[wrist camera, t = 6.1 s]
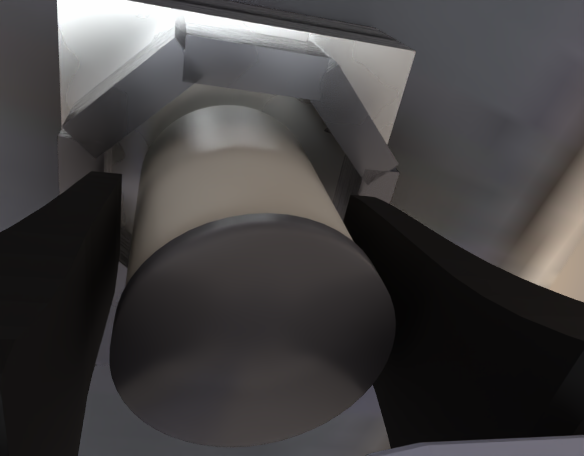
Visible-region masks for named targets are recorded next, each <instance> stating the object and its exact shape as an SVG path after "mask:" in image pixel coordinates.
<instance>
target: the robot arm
mask: <svg viewBox="0 0 584 456" xmlns="http://www.w3.org/2000/svg"><path fill="white" fill-rule="evenodd" d="M121 195H122V174H118V173H107V172H96V171H91V172H89V173H88V174H87V175H85V176H84V177H83V178H81V179H80V180H79V181H77V182H76V183H75V184H73V185H72V186H71V187H69V188H68V189H67V190H66V191H64V192H63V193H62V194H60V195H59V196H58V197H56V198H55V199H53V200H52V201H51V202H49V203H48V204H46V205H45V206H44V207H42V208H40V209H39V210H37V211H36V212H34V213H32V214H31V215H29V216H28V217H26V218H24V219H23V220H21V221H20V222H18V223H16V224H15V225H13V226H11V227H9V228H8V229H6V230H4V231H2V232H0V456H78V451H79V444H80V438H81V432H82V426H83V419H84V413H85V407H86V401H87V395H88V391H89V386H90V382H91V377H92V374H93V370H94V367H95V363H96V359H97V356H98V352H99V348H100V345H101V341H102V338H103V334H104V330H105V327H106V323H107V319H108V316H109V312H110V308H111V305H112V301H113V297H114V293H115V287H116V280H117V272H118V265H119V257H120V230H121ZM343 223H344V225H345V227H346V229H347V230H348V232H349V234H350V236H351V238H352V240H353V241H354V243H355V244H357V245H358V246H359V247H360V248H361V249H362V250H363V251H364V253H365V254H366V255H367V257H368V258H369V259H370V260H371V262H372V264H373V265H374V267H375V269H376V271H377V272H378V274H379V276H380V278H381V279H382V281H383V283H384V285H385V287H386V289H387V291H388V293H389V295H390V297H391V300H392V303H393V306H394V311H395V319H396V329H395V338H394V343H393V347H392V350H391V353H390V356H389V358H388V361H387V363H386V365H385V366H384V368H383V370H382V372H381V374H380V375H379V376H378V378H377V379H376V380H375V382H374V383H373V386H374V389H375V392H376V395H377V399H378V402H379V406H380V409H381V413H382V416H383V420H384V423H385V427H386V430H387V434H388V438H389V442H390V446H391V449H388V450H383V451H379V452H374V453H370V454H367V455H366V456H584V302H581V301H578V300H575V299H572V298H569V297H567V296H564V295H561V294H559V293H556V292H554V291H551V290H549V289H546V288H544V287H541V286H538V285H536V284H534V283H531V282H529V281H527V280H524V279H522V278H520V277H517V276H515V275H513V274H511V273H509V272H507V271H505V270H503V269H501V268H498V267H496V266H494V265H492V264H490V263H488V262H486V261H484V260H482V259H481V258H479V257H477V256H475V255H473V254H471V253H470V252H468V251H466V250H464V249H463V248H461V247H459V246H457V245H455V244H454V243H452V242H450V241H449V240H447V239H445V238H444V237H442V236H441V235H439V234H437V233H436V232H434V231H432V230H431V229H429V228H428V227H426V226H424V225H423V224H421V223H420V222H418V221H417V220H415V219H413V218H412V217H410V216H409V215H407V214H405V213H404V212H402V211H401V210H399V209H397V208H395V207H394V206H392V205H390V204H389V203H387V202H385V201H383V200H381V199H378V198H376V197H371V196H360V195H350V198H349V202H348V206H347V209H346V213H345V216H344V220H343Z"/></svg>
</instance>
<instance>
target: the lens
mask: <svg viewBox="0 0 584 456" xmlns="http://www.w3.org/2000/svg"><path fill="white" fill-rule="evenodd" d="M395 329H396V319H395V311H394V306H393V303H392V300H391V297H390V295H389V293H388V291H387V289H386V287H385V285H384V283H383V281H382V279H381V278H380V276H379V274H378V272H377V271H376V269H375V267H374V265H373V264H372V262H371V260H370V259H369V258H368V257H367V255H366V254H365V253H364V251H363V250H362V249H361V248H360V247H359V246H358V245H357V244H355V243H354V241H353V240H352V238H351V236H350V234H349V232H348V230H347V229H346V227H345V225H344V223H343V221H342V219H341V217H340V216H339V214H338V212H337V210H336V208H335V206H334V205H333V203H332V201H331V199H330V197H329V195H328V194H327V192H326V190H325V188H324V186H323V184H322V183H321V181H320V179H319V177H318V175H317V173H316V172H315V170H314V168H313V166H312V164H311V162H310V161H309V159H308V157H307V155H306V153H305V151H304V150H303V148H302V146H301V144H300V142H299V141H298V140H297V138H296V137H295V135H294V134H293V133H292V132H291V131H290V130H289V129H288V128H287V127H286V126H285V125H284V124H282V123H281V122H280V121H278V120H277V119H275V118H274V117H272V116H270V115H268V114H266V113H264V112H261V111H259V110H256V109H253V108H249V107H245V106H237V105H218V106H210V107H206V108H202V109H198V110H196V111H193V112H191V113H188V114H186V115H184V116H182V117H181V118H179V119H177V120H175V121H174V122H173V123H171V124H170V125H169V126H168V127H166V128H165V129H164V130H163V131H162V132H161V133H160V134H159V135H158V136H157V138H156V139H155V141H154V142H153V143H152V145H151V146H150V148H149V150H148V152H147V154H146V156H145V159H144V162H143V164H142V169H141V174H140V181H139V188H138V196H137V203H136V210H135V218H134V225H133V233H132V240H131V247H130V255H129V262H128V269H127V277H126V284H125V289H124V290H123V292H122V294H121V297H120V300H119V302H118V305H117V308H116V313H115V318H114V323H113V330H112V336H111V343H110V355H109V364H110V370H111V375H112V379H113V382H114V384H115V387H116V389H117V391H118V393H119V395H120V396H121V398H122V400H123V401H124V403H125V404H126V405H127V406H128V407H129V408H130V410H131V411H132V412H133V413H134V414H135V415H137V416H138V417H139V418H140V419H141V420H142V421H144V422H145V423H147V424H148V425H150V426H151V427H153V428H154V429H156V430H158V431H160V432H162V433H164V434H167V435H169V436H171V437H174V438H177V439H180V440H183V441H186V442H191V443H195V444H200V445H207V446H215V447H245V446H254V445H262V444H267V443H272V442H277V441H281V440H284V439H288V438H291V437H294V436H297V435H300V434H302V433H305V432H307V431H310V430H312V429H314V428H316V427H318V426H320V425H322V424H324V423H326V422H328V421H330V420H331V419H333V418H334V417H336V416H338V415H339V414H341V413H342V412H343V411H345V410H346V409H348V408H349V407H350V406H352V405H353V404H354V403H355V402H356V401H357V400H358V399H359V398H360V397H362V396H363V395H364V393H365V392H366V391H367V390H368V389H369V388H370V387H371V386H372V385H373V383H374V382H375V380H376V379H377V378H378V376H379V375H380V374H381V372H382V370H383V368H384V366H385V365H386V363H387V361H388V358H389V356H390V353H391V350H392V347H393V343H394V338H395Z"/></svg>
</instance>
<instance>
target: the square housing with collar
mask: <svg viewBox="0 0 584 456" xmlns="http://www.w3.org/2000/svg"><path fill="white" fill-rule="evenodd" d="M57 7H58V37H59V66H60V95H61V124H62V129H61V130H60V132H59V134H58V136H57V144H58V170H59V195H60V194H62V193H63V192H64V191H66V190H67V189H68V188H69V187H71V186H72V185H73V184H75V183H76V182H77V181H79V180H80V179H81V178H83V177H84V176H85V175H87V174H88V173H89V172H91V171H96V172H107V173H118V174H122V195H121V230H120V257H119V265H118V272H117V280H116V287H115V293H114V297H113V301H112V305H111V308H110V312H109V316H108V319H107V323H106V327H105V330H104V334H103V338H102V341H101V345H100V348H99V352H98V356H97V359H96V363H95V365H110V364H109V355H110V343H111V336H112V330H113V323H114V318H115V313H116V308H117V305H118V302H119V300H120V297H121V294H122V292H123V290H124V289H125V284H126V277H127V269H128V262H129V255H130V247H131V240H132V233H133V225H134V218H135V210H136V203H137V196H138V188H139V181H140V174H141V169H142V164H143V162H144V159H145V156H146V154H147V152H148V150H149V148H150V146H151V145H152V143H153V142H154V141H155V139H156V138H157V136H158V135H159V134H160V133H161V132H162V131H163V130H164V129H165V128H166V127H168V126H169V125H170V124H171V123H173V122H174V121H175V120H177V119H179V118H181V117H182V116H184V115H186V114H188V113H191V112H193V111H196V110H198V109H202V108H206V107H210V106H218V105H237V106H245V107H249V108H253V109H256V110H259V111H261V112H264V113H266V114H268V115H270V116H272V117H274V118H275V119H277V120H278V121H280V122H281V123H282V124H284V125H285V126H286V127H287V128H288V129H289V130H290V131H291V132H292V133H293V134H294V135H295V137H296V138H297V140H298V141H299V142H300V144H301V146H302V148H303V150H304V151H305V153H306V155H307V157H308V159H309V161H310V162H311V164H312V166H313V168H314V170H315V172H316V173H317V175H318V177H319V179H320V181H321V183H322V184H323V186H324V188H325V190H326V192H327V194H328V195H329V197H330V199H331V201H332V203H333V205H334V206H335V208H336V210H337V212H338V214H339V216H340V217H341V219H342V221H343V220H344V216H345V213H346V209H347V206H348V202H349V198H350V195H360V196H371V197H376V198H378V199H381V200H383V201H385V202H387V203H389V204H390V201H391V198H392V195H393V192H394V189H395V186H396V183H397V180H398V177H399V173H400V172H399V171H398V170H397V169H396V168H395V167H396V166H397V165H399V163H398V162H397V160H396V158H395V157H394V155H393V154H392V152H391V150H390V149H389V147H388V141H389V138H390V135H391V131H392V128H393V125H394V121H395V118H396V115H397V112H398V108H399V105H400V102H401V98H402V95H403V92H404V89H405V85H406V82H407V79H408V75H409V72H410V69H411V66H412V62H413V59H414V56H415V52H416V51H414V50H413V49H411V48H409V47H407V46H406V45H404V44H402V43H401V42H399V41H397V40H395V39H394V38H392V37H390V36H389V35H387V34H385V33H383V32H382V31H380V30H378V29H376V28H373V27H368V26H362V25H357V24H352V23H346V22H341V21H335V20H330V19H325V18H319V17H314V16H308V15H303V14H298V13H292V12H287V11H281V10H276V9H270V8H265V7H260V6H254V5H249V4H243V3H238V2H233V1H227V0H57Z"/></svg>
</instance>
